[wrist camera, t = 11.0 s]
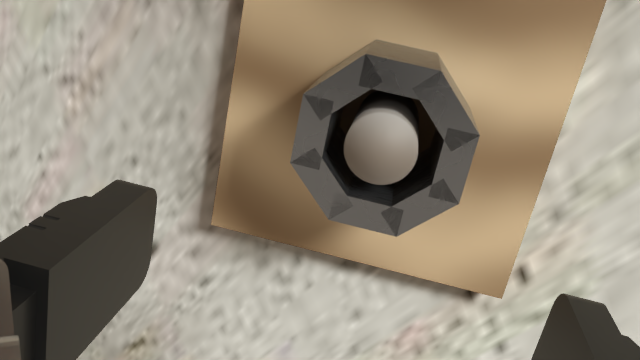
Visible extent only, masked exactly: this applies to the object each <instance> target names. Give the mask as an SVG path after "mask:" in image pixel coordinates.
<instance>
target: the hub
mask: <svg viewBox="0 0 640 360" xmlns="http://www.w3.org/2000/svg"><path fill="white" fill-rule="evenodd" d="M370 89H375V90H379V91H383V92H388V93H392V94H396V95H401V96H405V97H409V98H414V99H418V100H420V102H421V103H422V105H423V107H424V108H425V110H426V112H427V113H428V115H429V116H430V118H431V120H432V121H433V123H434V125H435V126H436V127H435V131H434V134H433V138H432V142H431V145H430V147H429V148H428V149H426V150H424V151H422V152H420V153H419V154H418V156H417V160H416V163H415V165H414V167H413V168H412V170H411V171H410V172H409V173H408V175H406V176H405V177H404V178H402V179H401V180H399V181H397V182H395V183H392V184H387V185H376V184H371V183H368V182H366V181H364V180H362V179H360V178H359V177H357V176H356V175H355V174H354V173H353V172H352V171H351V169H350V168H349V166H348V164H347V162H346V159H345V156H344V142H345V138H346V135H345V133H344V132H343V130H342V128H341V127H340V122H341V118H342V113H343V109H344V106H345V105H346V104H348V103H349V102H351V101H353V100H354V99H356V98H358V97H359V96H361V95H362V94H364V93H366V92H367V91H369V90H370ZM479 137H480V134H479V131H478V129H477V126H476V123H475V120H474V118H473V115H472V112H471V109H470V107H469V105H468V103H467V101H466V100H465V98H464V96H463V95H462V93H461V91H460V90H459V88H458V86H457V85H456V83H455V81H454V80H453V78H452V76H451V75H450V73H449V71H448V70H447V68H446V66H445V65H444V63H443V61H442V60H441V58H440V56H439V55H438V53H436V52H431V51H427V50H422V49H418V48H413V47H409V46H404V45H400V44H395V43H391V42H386V41H382V40H377V39H376V40H374V41H373V42H371V43H370V44H368V45H367V46H365V47H364V48H362V49H361V50H359V51H357V52H356V53H354V54H353V55H351V56H350V57H348V58H347V59H345V60H344V61H342V62H341V63H339V64H337V65H336V66H334V67H333V68H331V69H330V70H328V71H327V72H325V73H324V74H323V75H322V76H321V77H320V78H319V79H318V80H317V81H316V82H315V83H314V84H313V85H312V86H311V87H310V88H309V89H308V90H307V91H306V92H305V93H304V94H303V97H302V103H301V108H300V113H299V118H298V123H297V129H296V134H295V139H294V144H293V149H292V155H291V160H290V164H291V165H292V167H293V168H294V169H295V171H296V172H297V174H298V175H299V177H300V178H301V180H302V181H303V183H304V184H305V186H306V187H307V189H308V190H309V192H310V193H311V195H312V196H313V198H314V199H315V201H316V202H317V204H318V205H319V207H320V208H321V209H322V211H323V212H324V214H325V215H326V217H327V218H328V220H331V221H335V222H339V223H343V224H347V225H351V226H355V227H359V228H363V229H367V230H371V231H375V232H379V233H383V234H387V235H391V236H395V237H397V236H399V235H401V234H403V233H405V232H407V231H409V230H410V229H412V228H414V227H416V226H418V225H420V224H422V223H424V222H426V221H428V220H429V219H431V218H433V217H435V216H437V215H439V214H441V213H443V212H445V211H447V210H448V209H450V208H452V207H454V206H456V205H458V204H459V202H460V199H461V196H462V192H463V189H464V186H465V183H466V179H467V176H468V173H469V169H470V166H471V163H472V160H473V156H474V153H475V150H476V146H477V143H478V140H479Z"/></svg>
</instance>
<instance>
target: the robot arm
mask: <svg viewBox="0 0 640 360" xmlns="http://www.w3.org/2000/svg"><path fill="white" fill-rule="evenodd" d="M156 205H157V194H156V191H155V189H153V188H149V187H145V186H142V185H138V184H134V183H130V182H126V181H122V180H115V181H114V182H112V183H111V184H109V185H108V186H106V187H105V188H104V189H102V190H101V191H99V192H98V193H96V194H95V195H93V196H92V197H88V196H83V197H80V198H76V199H73V200H69V201H66V202H62V203H60V204H58V205H57V206H55V207H54V208H52V209H51V210H49V211H48V212H46V213H45V214H44V215H43V217H41V216H40V217H38V218H37V219H35V220H34V221H32V222H31V223H29V226H25V227H23V228H21V229H20V230H18V231H17V232H15V233H14V234H12V235H11V236H9V237H8V238H6V239H5V240H3V241H1V242H0V360H76V359H77V358H78V357H79V355H80V354H81V353H82V352H83V351H84V350H85V349H86V348H87V346H88V345H89V344H90V343H91V342H92V341H93V340H94V339H95V337H96V336H97V335H98V334H99V333H100V332H101V331H102V329H103V328H104V327H105V326H106V325H107V324H108V323H109V322H110V320H111V319H112V318H113V317H114V316H115V315H116V314H117V313H118V311H119V310H120V309H121V308H122V307H123V306H124V305H125V304H126V302H127V301H128V300H129V299H130V298H131V297H132V296H133V294H134V293H135V292H136V291H137V290H138V289H139V287H140V286H141V284H142V283H143V281H144V279H145V277H146V274H147V271H148V268H149V264H150V259H151V251H152V242H153V233H154V224H155V214H156ZM531 360H640V347H639V346H638V345H637V344H636V343H635V342H634V341H632V340H631V339H630V338H629V337H627V336H624V335H621V333H620V331H619V330H618V328H617V326H616V324H615V322H614V320H613V318H612V317H611V315H610V313H609V311H608V309H607V307H606V306H605V305H604V304H602V303H599V302H595V301H591V300H587V299H583V298H579V297H575V296H571V295H567V294H560V295H559V296H558V297H557V299H556V300H555V302H554V304H553V306H552V309H551V311H550V314H549V316H548V319H547V321H546V324H545V326H544V329H543V332H542V334H541V337H540V339H539V342H538V344H537V347H536V349H535V352H534V354H533V357H532V359H531Z"/></svg>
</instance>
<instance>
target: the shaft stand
mask: <svg viewBox="0 0 640 360" xmlns="http://www.w3.org/2000/svg"><path fill="white" fill-rule="evenodd" d="M605 3H606V0H244V4H243V11H242V18H241V25H240V31H239V38H238V45H237V52H236V59H235V65H234V72H233V79H232V86H231V93H230V99H229V106H228V113H227V120H226V126H225V133H224V140H223V147H222V154H221V160H220V167H219V174H218V181H217V187H216V194H215V201H214V208H213V215H212V221H211V225H214V226H218V227H222V228H226V229H230V230H234V231H238V232H242V233H246V234H250V235H254V236H258V237H261V238H265V239H269V240H273V241H277V242H281V243H285V244H289V245H293V246H297V247H301V248H305V249H309V250H313V251H316V252H320V253H324V254H328V255H332V256H336V257H340V258H344V259H348V260H352V261H356V262H360V263H364V264H367V265H371V266H375V267H379V268H383V269H387V270H391V271H395V272H399V273H403V274H407V275H411V276H415V277H419V278H422V279H426V280H430V281H434V282H438V283H442V284H446V285H450V286H454V287H458V288H462V289H466V290H470V291H474V292H477V293H481V294H485V295H489V296H493V297H497V298H501V299H502V296H503V294H504V291H505V288H506V285H507V282H508V279H509V276H510V274H511V271H512V268H513V265H514V262H515V259H516V257H517V254H518V251H519V248H520V245H521V242H522V239H523V237H524V234H525V231H526V228H527V225H528V222H529V219H530V217H531V214H532V211H533V208H534V205H535V202H536V200H537V197H538V194H539V191H540V188H541V185H542V182H543V180H544V177H545V174H546V171H547V168H548V165H549V162H550V160H551V157H552V154H553V151H554V148H555V145H556V143H557V140H558V137H559V134H560V131H561V128H562V125H563V123H564V120H565V117H566V114H567V111H568V108H569V105H570V103H571V100H572V97H573V94H574V91H575V88H576V85H577V83H578V80H579V77H580V74H581V71H582V68H583V66H584V63H585V60H586V57H587V54H588V51H589V48H590V46H591V43H592V40H593V37H594V34H595V31H596V28H597V26H598V23H599V20H600V17H601V14H602V11H603V9H604V6H605ZM376 39H377V40H382V41H386V42H391V43H395V44H400V45H404V46H409V47H413V48H418V49H422V50H427V51H431V52H436V53H438V55H439V56H440V58H441V60H442V61H443V63H444V65H445V66H446V68H447V70H448V71H449V73H450V75H451V76H452V78H453V80H454V81H455V83H456V85H457V86H458V88H459V90H460V91H461V93H462V95H463V96H464V98H465V100H466V101H467V103H468V105H469V107H470V109H471V112H472V115H473V118H474V120H475V123H476V126H477V129H478V131H479V134H480V137H479V140H478V143H477V146H476V150H475V153H474V156H473V160H472V163H471V166H470V169H469V173H468V176H467V179H466V183H465V186H464V189H463V192H462V196H461V199H460V202H459V204H458V205H456V206H454V207H452V208H450V209H448V210H447V211H445V212H443V213H441V214H439V215H437V216H435V217H433V218H431V219H429V220H428V221H426V222H424V223H422V224H420V225H418V226H416V227H414V228H412V229H410V230H409V231H407V232H405V233H403V234H401V235H399V236H397V237H395V236H391V235H387V234H383V233H379V232H375V231H371V230H367V229H363V228H359V227H355V226H351V225H347V224H343V223H339V222H335V221H331V220H328V218H327V217H326V215H325V214H324V212H323V211H322V209H321V208H320V207H319V205H318V204H317V202H316V201H315V199H314V198H313V196H312V195H311V193H310V192H309V190H308V189H307V187H306V186H305V184H304V183H303V181H302V180H301V178H300V177H299V175H298V174H297V172H296V171H295V169H294V168H293V167H292V165H291V164H290V160H291V155H292V149H293V144H294V139H295V134H296V129H297V123H298V118H299V113H300V108H301V103H302V97H303V94H304V93H305V92H306V91H307V90H308V89H309V88H310V87H311V86H312V85H313V84H314V83H315V82H316V81H317V80H318V79H319V78H320V77H321V76H322V75H323V74H324V73H325V72H327V71H328V70H330V69H331V68H333V67H334V66H336V65H337V64H339V63H341V62H342V61H344V60H345V59H347V58H348V57H350V56H351V55H353V54H354V53H356V52H357V51H359V50H361V49H362V48H364V47H365V46H367V45H368V44H370V43H371V42H373V41H374V40H376ZM340 127H341V128H342V130H343V132H344V133H345V135H346V138H345V142H344V156H345V159H346V162H347V164H348V166H349V168H350V169H351V171H352V172H353V173H354V174H355V175H356V176H357V177H359V178H360V179H362V180H364V181H366V182H368V183H371V184H376V185H387V184H392V183H395V182H397V181H399V180H401V179H402V178H404V177H405V176H406V175H408V173H409V172H410V171H411V170H412V168H413V167H414V165H415V163H416V160H417V156H418V154H419V153H420V152H422V151H424V150H426V149H428V148H429V147H430V145H431V142H432V138H433V134H434V131H435V127H436V126H435V125H434V123H433V121H432V120H431V118H430V116H429V115H428V113H427V112H426V110H425V108H424V107H423V105H422V103H421V102H420V100H418V99H414V98H409V97H405V96H401V95H396V94H392V93H388V92H383V91H379V90H375V89H370V90H369V91H367V92H366V93H364V94H362V95H361V96H359V97H358V98H356V99H354V100H353V101H351V102H349V103H348V104H346V105H345V106H344V109H343V113H342V118H341V122H340Z"/></svg>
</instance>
